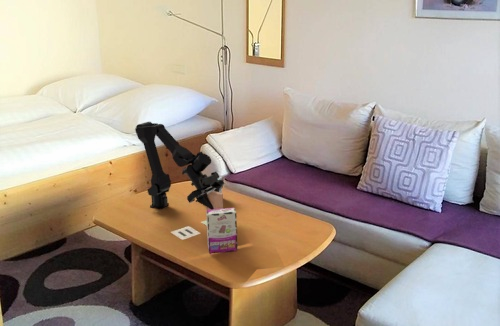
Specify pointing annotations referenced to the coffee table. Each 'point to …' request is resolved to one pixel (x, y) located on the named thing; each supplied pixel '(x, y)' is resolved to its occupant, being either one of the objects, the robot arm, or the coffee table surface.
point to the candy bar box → (221, 230)
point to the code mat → (187, 232)
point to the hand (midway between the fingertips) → (217, 207)
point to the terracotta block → (215, 200)
